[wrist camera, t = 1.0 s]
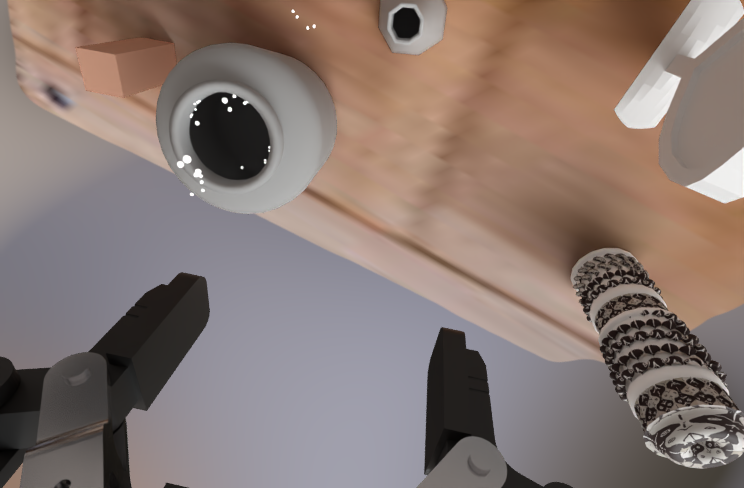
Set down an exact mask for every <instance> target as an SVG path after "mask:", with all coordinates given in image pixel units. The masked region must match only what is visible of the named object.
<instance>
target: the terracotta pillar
mask: <svg viewBox="0 0 744 488" xmlns="http://www.w3.org/2000/svg"><path fill="white" fill-rule="evenodd" d="M75 48H76V52H77V56H78V60H79V64H80V68H81V73H82V77H83V81H84V85H85V89H86V91H90V92H95V93H101V94H106V95H111V96H116V97H121V98H125V97H128V96H131V95H134V94H137V93H140V92H143V91H146V90H149V89H152V88H155V87H158V86H161V85H163V83H164V82H165V80H166V78H167V76H168V74H169V73H170V71H171V70H172V69H173V68H174V67H175V66H176V65H177V63H176V54H175V46H174V43H170V42H165V41H159V40H154V39H149V38H143V37H139V38H132V39H126V40H119V41H113V42H106V43H100V44H93V45H87V46H80V47H75Z"/></svg>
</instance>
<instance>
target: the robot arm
mask: <svg viewBox="0 0 744 488" xmlns="http://www.w3.org/2000/svg"><path fill="white" fill-rule="evenodd" d="M209 312H210V309H209V300H208V291H207V282H206V279H205V278H204V277H202V276H197V275H192V274H188V273H183V272H182V273H179V274H178V275H177V276H176V277H175V278H174V279H173V280H172V281H171V282H170V283H169V284H168V285H164V284H161V285H159V286H157V287H156V288H154V289H152V290H150V291H148V292H147V293H145V294H144V295H143V296H142V298H140V300H138V301H137V302H136V304H135V306H133V307H132V308H131V309H130V310H129V311H128V312H127V313H126V315H125V316H123V317H122V318H121V319H120V320H119V321H118V322H117V323H116V324H115V325H114V326H113V327H112V328H111V329H110V330H109V331H108V332H107V333H106V334H105V335H104V336H103V337H102V338H101V340H100V341H99V342H98V343H97V344H96V345H95V346H94V347H93V348H92V349H91V350H90V351H89V352H84V353H78V354H74V355H71V356H68V357H66V358H64V359H63V360H61V361H59V362H58V363H56V364H55V365H54V366H52V367H51V368H38V369H22V370H16V369H15V368H14V366H13V364H12V362H11V361H10V360H9V359H7V358H4V357H0V488H2V487H3V486H4V485H5V484H6V482H7V481H8V480H9V479H10V478H11V476H12V475H13V474H14V473H15V471H16V470H17V469H18V468H19V467H20V465H21V464H22V463H23V468H22V475H21V483H20V488H132V487H131V481H130V470H129V454H128V437H127V422H126V416H127V415H128V414H129V412H130V411H131V410H132V408H136V409H141V410H145V411H147V410H148V408H149V407H150V405H151V404H152V403H153V401H154V400H155V398H156V397H157V395H158V394H159V393H160V391H161V389H162V388H163V387H164V385H165V384H166V383H167V381H168V379H169V378H170V377H171V375H172V374H173V372H174V371H175V370H176V368H177V367H178V365H179V364H180V362H181V361H182V360H183V358H184V357H185V355H186V354H187V352H188V351H189V350H190V348H191V347H192V345H193V344H194V342H195V341H196V340H197V338H198V337H199V335H200V334H201V332H202V331H203V329H204V328H205V326H206V324H207V322H208V318H209ZM487 381H488V379H487V371H486V365H485V363H484V361H483V359H482V358H481V356H480V354H479V352H478V351H474V350H469V349H466V341H465V333H464V332H462V331H458V330H453V329H448V328H443V327H442V328H441V329H440V332H439V334H438V337H437V340H436V344H435V347H434V349H433V352H432V356H431V359H430V363H429V369H428V380H427V410H426V440H425V469H424V474H425V475H428V476H427V477H426V478H425V479H424V480H423V481H422V482H421V483H420V484H419V485H418V487H417V488H573V487H571V486H569V485H567V484H564V483H560V482H552V483H549V484H547V485H545V486H544V487H543V486H541V485H539V484H537V483H535V482H533V481H532V480H530V479H528V478H526V477H525V476H523V475H521V474H520V473H518V472H516V471H515V470H514V469H513V468H511V467H510V466H509V465H508V464H507V463H506V461H505V460H504V458H503V456H502V455H501V453H500V452H499V450H498V449H497V446H496V443H495V436H494V428H493V420H492V412H491V403H490V396H489V387H488V383H487ZM164 488H187V487H183V486H179V485H174V484H170V483H166V485H165V487H164Z"/></svg>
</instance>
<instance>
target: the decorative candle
mask: <svg viewBox="0 0 744 488" xmlns="http://www.w3.org/2000/svg"><path fill="white" fill-rule="evenodd" d="M570 278H571V281H572V284H573V288H574V289H575V290H577V291H578V292H576V295H577V296H581V297H582V299H580V300H579V303H581V305H582V306H584V308H583V311H584V312H585V314H587V315H588V316H587V320H588V321H589V322H592V324H593V326H594V328H595V330H596V331H597V332H598V333H599V339H598V341H599V344H600V351H601V352H602V353H603V358H604V359H605V363H606V365H607V366H608V368H609V370H610V371H611V373H610V378H611V379H612V380H613V384H614V385H615V386H616V388H615V390H616V392H617V393H618V394H619V396H620V398H621V399H622V400H624V401H628V403H629V405H630V407H631V409H632V411H633V414H634V416H635V417H636V418H638V419H639V421H640V423H641V426H642V429H643V431H644V432H645V434H644V436H643V437H644V440H645V443H646V446H647V447H648V448H649V449H650V450H652V451H653V452H654V453H655V454H657V455H659V456H663V457H666V458H669V459H670V460H671V461H673V462H674V463H677V464H680V465H683V466H686V467H691V468H712V467H718V466H721V465H725V464H728V463H730V462H732V461H734V460H735V459H737V458H738V457H740V456H741V455H742V453H743V452H744V413H743V412H741V411H740V410H739V409H738V408H737V406H736V405H735V403H734V402H733V401H732V399H731V398H730V396H729V391H728V389H727V388H726V387H727V386H728V385H727V383H723V382H724V381H725V378H726V374H725V373H724V372H719V371H720V370H721V365H720V364H719V363H718V362H716V361H712V360H711V356H710V355H709V354H708V353H706V352H707V350H706V348H705V347H704V346H703V345H701V344H698V342H699V339H698V337H697V336H695V335H692V334H690V331H689V329H688V328H687V327H686V324H685V323H684V322H683V321H681V320H680V319H679V318H678V317H677V316H676V315H675V314H674V313H673V312H670V311H668V309H667V306H666V303H665V302H664V301H663V298H662V296H660V293H661V290H660V289H659V288H657V287H654V285H655V282H654V281H653V280H650V279H649V274H648V272H647V271H646V270H644V269H643V266H642V264H640V263H639V262H638V260H637V259H636V258H635V257H634V256H633V255H632V254H631V253H630V252H628V251H625V250H622V249H619V248H602V249H598V250H595V251H592V252H589V253H588V254H586V255H585V256H583V257H582V258H580V259H579V260H578V262H577V263H576V264H575V266H574V267H573V268H572V273H571V277H570ZM710 368H711V369H712V370H713V371H714V373H713V372H712V371H711V370H710ZM617 375H618V376H620V377H619V378H618V377H617ZM626 392H627V393H626Z"/></svg>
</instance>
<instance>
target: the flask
mask: <svg viewBox="0 0 744 488" xmlns="http://www.w3.org/2000/svg"><path fill="white" fill-rule="evenodd" d="M446 14H447V6H446V4H445V2H444V0H380V12H379V26H378V27H379V29H380V31H381V33H382V35H383V37H384V38H385V40H386V42H387V44H388V46H389V47H390V49H391V51H392V53H401V54H411V55H420V54H421V53H423V52H424V51H426V50H427V49H429V48H430V47H432V46H433V45H435V44H437V43H438V42H440V41H441V40H443V34H444V27H445V21H446Z"/></svg>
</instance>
